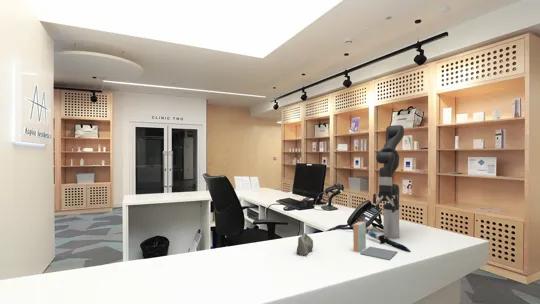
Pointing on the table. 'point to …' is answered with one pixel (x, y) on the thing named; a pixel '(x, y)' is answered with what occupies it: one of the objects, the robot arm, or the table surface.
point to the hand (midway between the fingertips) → (385, 211)
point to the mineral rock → (304, 244)
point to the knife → (387, 241)
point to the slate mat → (379, 253)
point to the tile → (359, 236)
